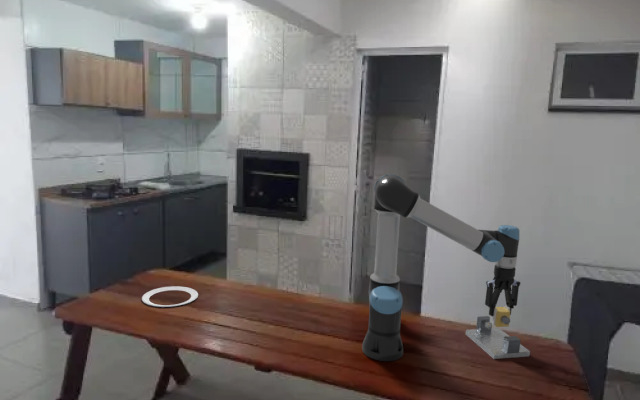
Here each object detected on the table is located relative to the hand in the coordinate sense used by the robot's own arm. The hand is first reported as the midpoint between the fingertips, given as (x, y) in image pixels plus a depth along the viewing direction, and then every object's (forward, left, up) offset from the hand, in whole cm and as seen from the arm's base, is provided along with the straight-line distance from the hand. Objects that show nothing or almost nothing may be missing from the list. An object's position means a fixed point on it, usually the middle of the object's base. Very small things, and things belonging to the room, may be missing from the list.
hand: (498, 322), depth 177 cm
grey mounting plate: (0, 0, -9) cm, 9 cm away
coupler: (0, 0, 0) cm, 0 cm away
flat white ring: (-129, +63, -10) cm, 144 cm away
